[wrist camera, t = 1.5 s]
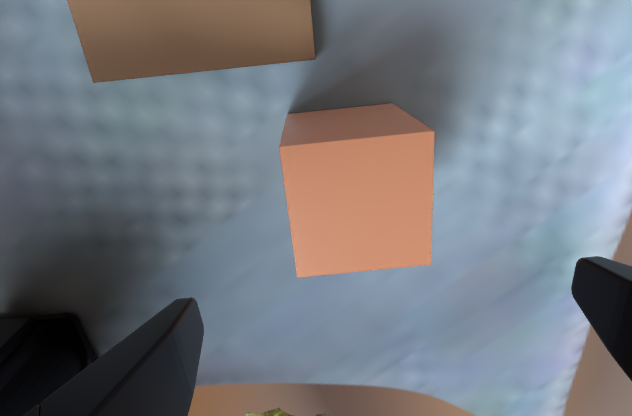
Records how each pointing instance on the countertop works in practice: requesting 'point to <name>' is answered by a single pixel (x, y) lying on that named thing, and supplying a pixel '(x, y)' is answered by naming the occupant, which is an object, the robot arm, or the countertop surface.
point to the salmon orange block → (358, 189)
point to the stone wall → (275, 413)
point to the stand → (189, 35)
